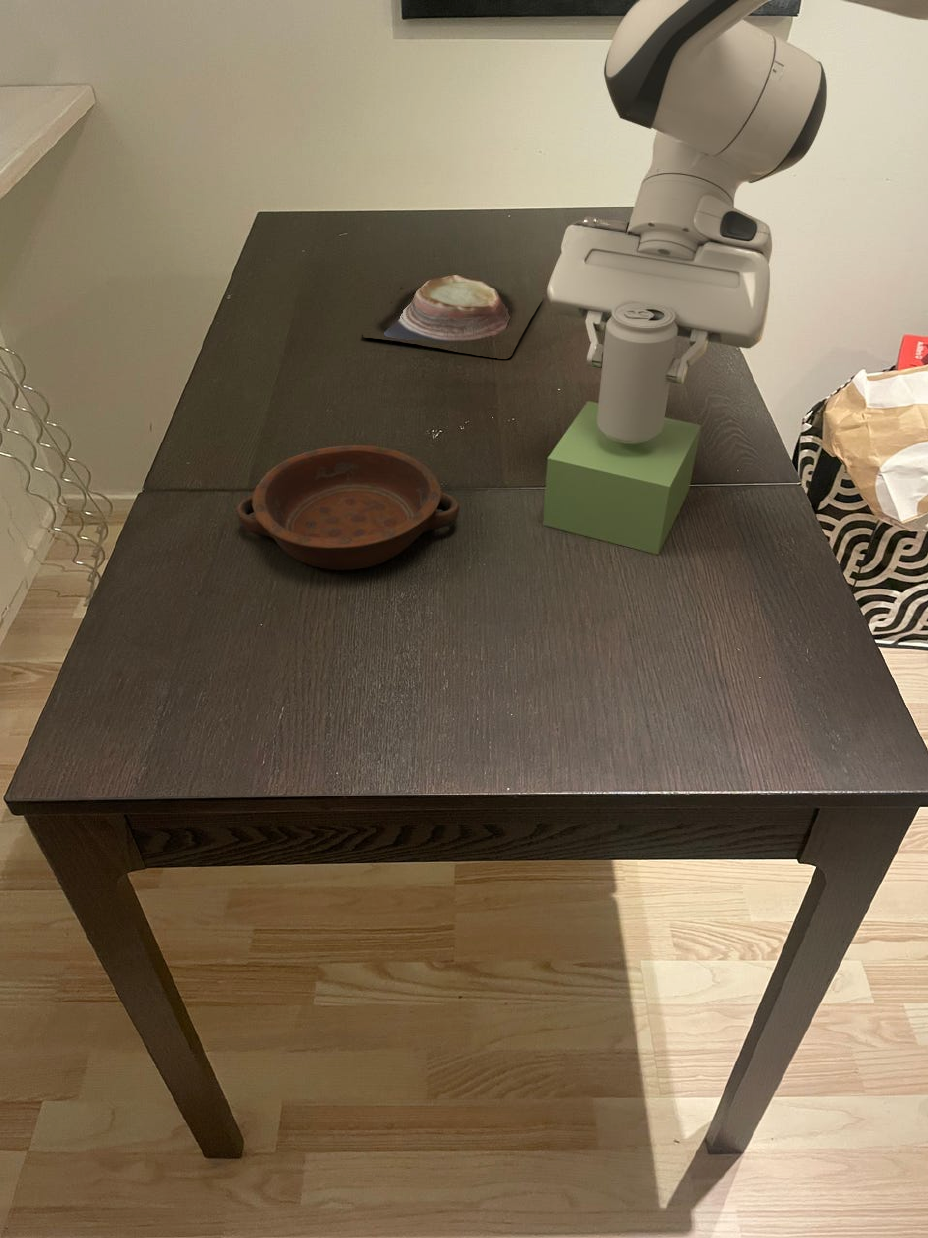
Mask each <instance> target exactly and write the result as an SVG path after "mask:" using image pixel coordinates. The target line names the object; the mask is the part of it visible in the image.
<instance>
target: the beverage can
mask: <svg viewBox="0 0 928 1238" xmlns="http://www.w3.org/2000/svg"><path fill="white" fill-rule="evenodd" d="M646 309H653V310H658V311H661V312H662V313H663V314H664V315H665V316H664V318H663V319H661V320H656V321H650V320H649V319H651V318H652V317H654V314H653V313H652V312H650V311H647V310H646ZM675 317H676V315H675V312H674V311H673V310H672V309H671V308H670V307H668V306H667V307H666V306H663V307H662V306H660V305H654V304H648V303H642V302H637V301H628V302H624V303H621V304H618V305H617V306H615V307H614V308H613V310H612V314H611V318H610V319H609V320H608V321H607V323H606V324H605V333H604V334H605V335H604V343H603V345H604V353H603V363H602V368H601V373H600V374H601V375H600V383H599V384H600V385H599V393H598V403H599V404H598V414H597V425H598V427H599V429H600V430H601V431H602V432H603V433H604V434H605V435H606V436H607V437H609V438H610V439H612V440H615V441H618V442H622V443H631V444H633V443H642V442H646V441H648V440H650V439H652V438H654V437H655V436H657V435H658V434H659V433H660V432H661V431H662V429H663V425H664V418H666V410H667V406H668V405H667V403H668V397H669V390H670V384H671V382H669V381H668V379H667V378H666V374H667V372H668V370H669V368H670V365H671V362H672V359H673V358H675V351H676V345H677V338H678V336H677V332H678V327H677V325H676V323H675Z"/></svg>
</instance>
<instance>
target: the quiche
mask: <svg viewBox="0 0 928 1238" xmlns="http://www.w3.org/2000/svg"><path fill="white" fill-rule="evenodd" d="M498 292H499V291H497V290H496V289H495V288H493V287H491V286H489V284H487V282H484V281H480V280H478V279H469V278H465V277H464V276H460V275H459V274H452V275H448V276H447V275H446V276H443V277H439V278H433V279H430V280H428V281H426V283H425V284H424V285H423V286H422V287H421V288H419V289H418V290H417V291H416V293H415V295H414V298H413V300H412V302H411V303H410V304H409V305H408V306H407V307H406V308H405V309H404V310H403V313H402V314H401V316H400V319H399V320H398V321H397V322H396V323H395V324H393V325H392V326H391V327H390V328H388V329H387V330H386V331H385V332H384V335H385V336H387V337H391V338H397V339H406V340H420V341H440V342H464V341H471V340H476V339H481V338H485V337H489V336H493V335H496V334H498V333H501V332H502V331H504V330H505V328H506V326H507V323H508V321H509V319H510V316H509V314H508V309H507V308H506V307H505V305H504V304H503V302H502V300H501V298H500V296H499V294H498Z"/></svg>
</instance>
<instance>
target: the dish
mask: <svg viewBox="0 0 928 1238" xmlns="http://www.w3.org/2000/svg"><path fill="white" fill-rule="evenodd" d="M442 491H443V490H442V486H441V484H440V482H439V481H438V478H436V476H435V475H434V473H433V472H432V471H431V470H430V469H429V468H428V467H427V466H426V465H425V464H424V463H423V462H421V461H420V460H419V459H416V458H415V457H412V456H410V455H408V454H406V453H403V452H400V451H398V450H395V449H392V448H388V447H384V446H377V445H359V444H355V445H353V444H351V445H337V446H329V447H323V448H318V449H314V450H309V451H306V452H303V453H301V454H300V453H299V454H298V455H294V456H292V457H290V458H287V459H284V461H282V462H280V463H278V464H277V465H275V466H274V467H273V468H271V470H269V471H268V472H267V473H266V474H265V475H264V476H263V477H262V478H261V479H260V482H259V483H258V484H257V485H256V487H255V490H253V492H252V495H251V496H249V497H246V498H244V499H242V501H240V502H239V503H238V505H237V506H236V516H237V518H238V520H239V522H240V525H241V526H242V528H244V529H245V530H246V531H247V532H250V533H253V534H257V535H260V536H265V537H269V538H272V539H273V540H274V541H275V542H276V543H277V545H278V546H279V547H280V548H281V549H282V550H283V551H284V552H285V553H286V554H288V555H289V556H290V557H291V558H293V559H295V560H297V561H298V562H301V563H303V564H305V565H308V566H311V567H315V568H320V569H326V570H333V571H334V570H335V571H349V570H358V569H365V568H369V567H373V566H376V565H380V564H382V563H384V562H386V561H388V560H390V559H392V558H394V557H396V556H398V555H399V554H401V553H402V552H404V551H405V550H406V549H407V548H408V547H410V546H411V545H412V544H413V543H414V542H415V541H416V540H417V539H418V538H419V537H420V536H421V535H422V534H423V533H424V532H427V531H432V530H437V529H442V528H446V527H447V528H448V527H449V526H451V525H454V523H456V521H457V520H458V517H459V511H460V504H459V501H458V500H456V498H454V497H453V496H452V495H450V494H447V493H444V492H442ZM438 510H439V511H438ZM253 513H254V516H250V515H251V514H253Z"/></svg>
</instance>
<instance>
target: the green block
mask: <svg viewBox="0 0 928 1238" xmlns="http://www.w3.org/2000/svg"><path fill="white" fill-rule="evenodd" d="M598 404H599V402H595V401H590V400H587V401H586V403H585V404H584V406H582V408H581V410H580V411H579V413H578V414H577V415H576V417H575V418H574V420H573V421H572V423H570V426H569V427H568V428H567V430H566V431H565V432H564V434H563V435H562V437H561V438H560V440H559V441H558V442H557V444H556V445H555V447H554V448H553V449H552V451H551V452H550V454H549V456H547V462H546V477H545V479H546V480H545V490H544V491H545V493H544V507H543V523H542V525H543V526H545V527H549V528H553V529H557V530H561V531H564V532H567V533H572V534H576V535H578V536H579V535H580V536H584V537H587V538H591V539H595V540H598V541H603V542H607V543H611V544H614V545H618V546H622V547H625V548H630V549H634V550H638V551H641V552H645V553H648V554H649V553H650V554H653V555H657V556H658V555H660V552H661V550H662V549H663V547H664V544H665V542H666V539H667V537H668V535H669V534H670V532H671V529H672V527H673V525H674V524H675V521H676V519H677V517H678V516H679V512H680V511H681V508H682V506H683V505H684V502H685V500H686V498H687V495H688V494H689V492H690V486H691V482H692V476H693V470H694V465H695V461H696V455H697V450H698V444H699V439H700V434H701V428H702V425H701V424H698V423H693V422H688V421H683V420H679V419H675V418H669V417H665V418H664V425H663V429H662V431H661V432H660V433H659V434H658V435H657V436H655V437H654V438H652V439H650V440H648V441H646V442H642V443H633V444H631V443H622V442H618V441H615V440H612V439H610V438H609V437H607V436H606V435H605V434H604V433H603V432H602V431H601V430H600V429H599V427H598V425H597V414H598Z"/></svg>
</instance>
